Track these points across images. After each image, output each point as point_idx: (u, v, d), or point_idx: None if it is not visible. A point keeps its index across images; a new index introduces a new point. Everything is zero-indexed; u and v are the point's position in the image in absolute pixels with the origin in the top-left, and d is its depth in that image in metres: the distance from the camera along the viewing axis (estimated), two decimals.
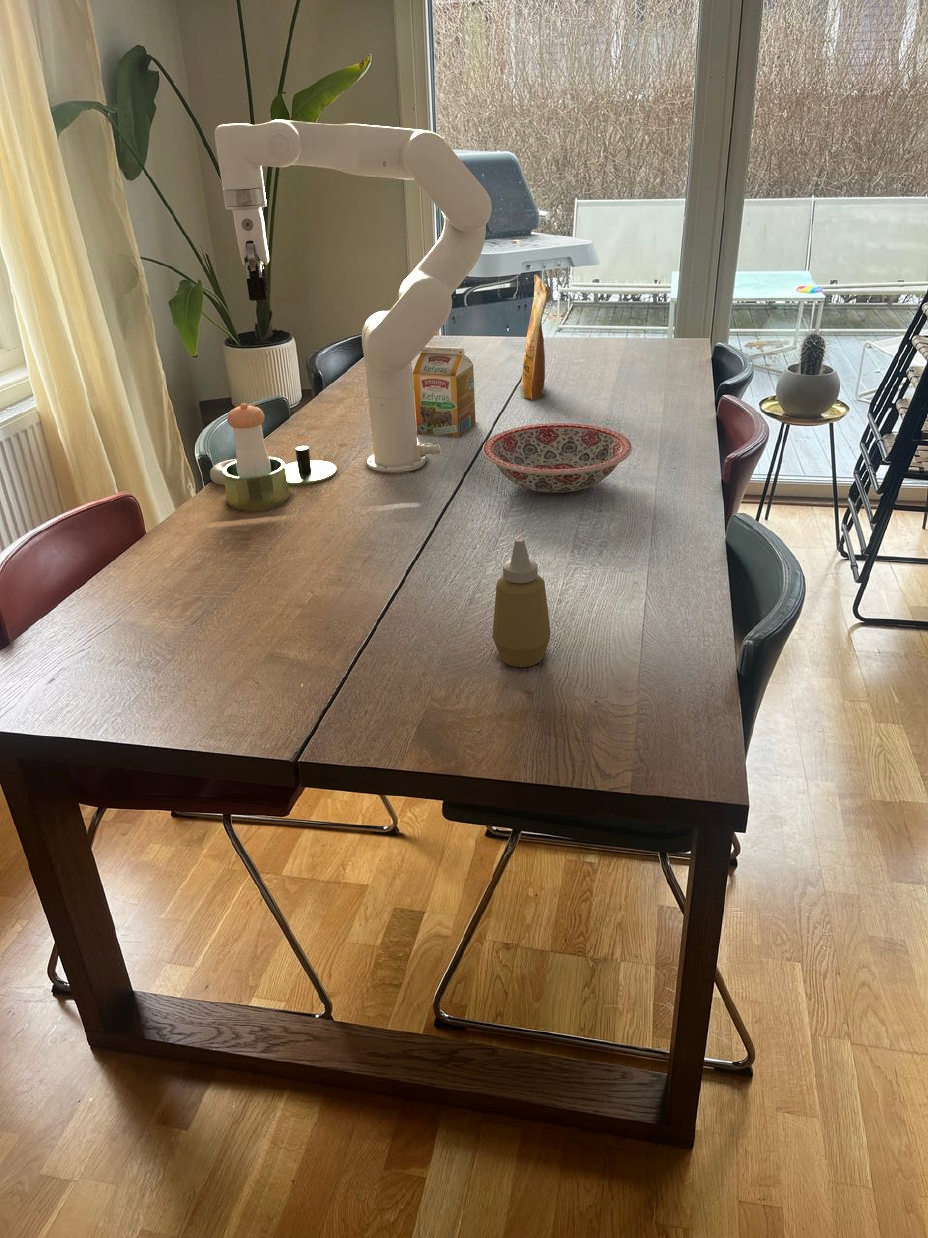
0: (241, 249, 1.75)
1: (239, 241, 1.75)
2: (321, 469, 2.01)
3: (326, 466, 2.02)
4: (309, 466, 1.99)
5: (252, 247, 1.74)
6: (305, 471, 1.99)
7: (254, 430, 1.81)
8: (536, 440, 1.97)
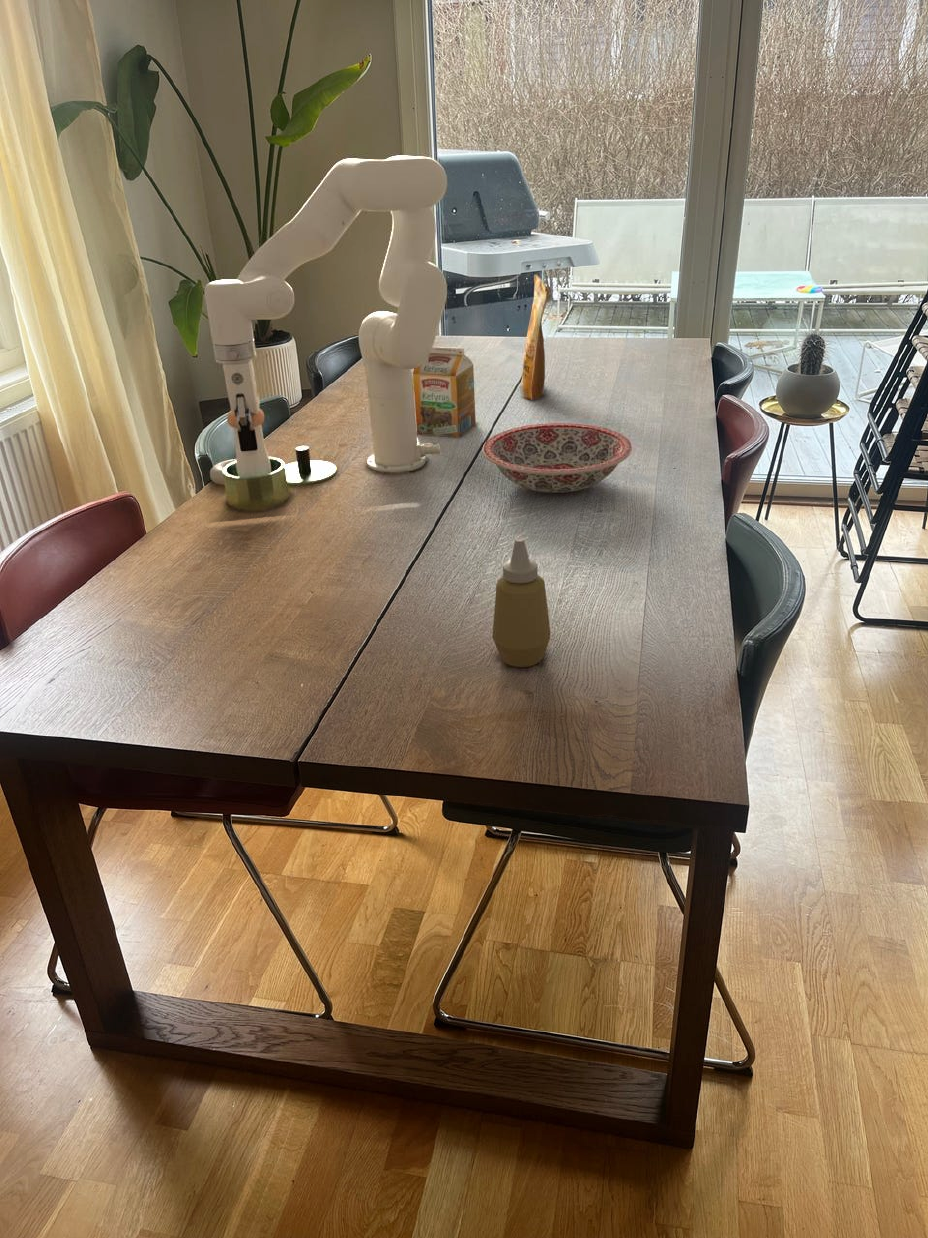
0: (231, 402, 1.75)
1: (229, 394, 1.75)
2: (321, 469, 2.01)
3: (326, 466, 2.02)
4: (309, 466, 1.99)
5: (243, 404, 1.75)
6: (305, 471, 1.99)
7: None
8: (536, 440, 1.97)
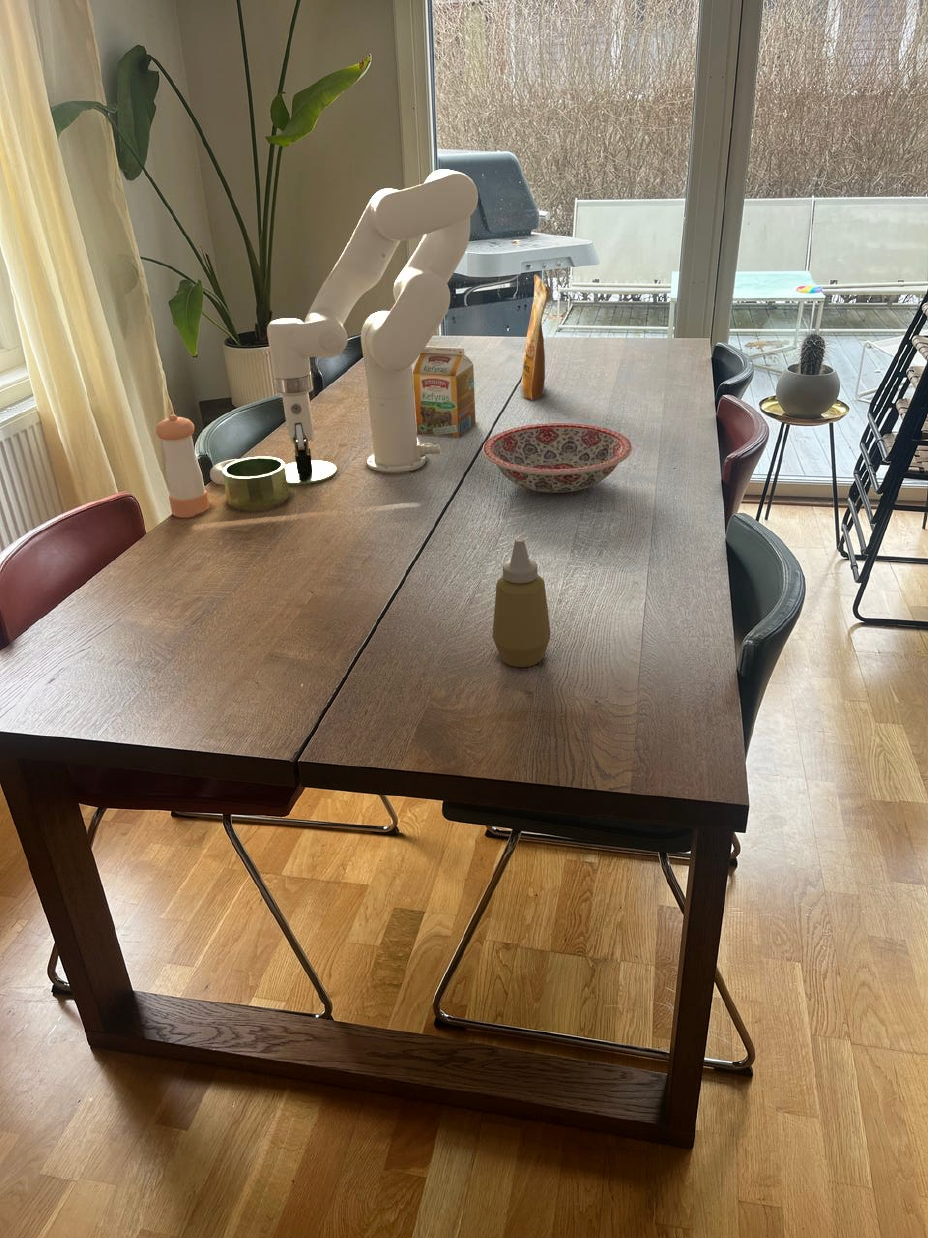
0: (290, 430, 1.91)
1: (288, 423, 1.90)
2: (321, 469, 2.01)
3: (326, 466, 2.02)
4: None
5: (301, 435, 1.91)
6: None
7: (184, 442, 1.78)
8: (536, 440, 1.97)
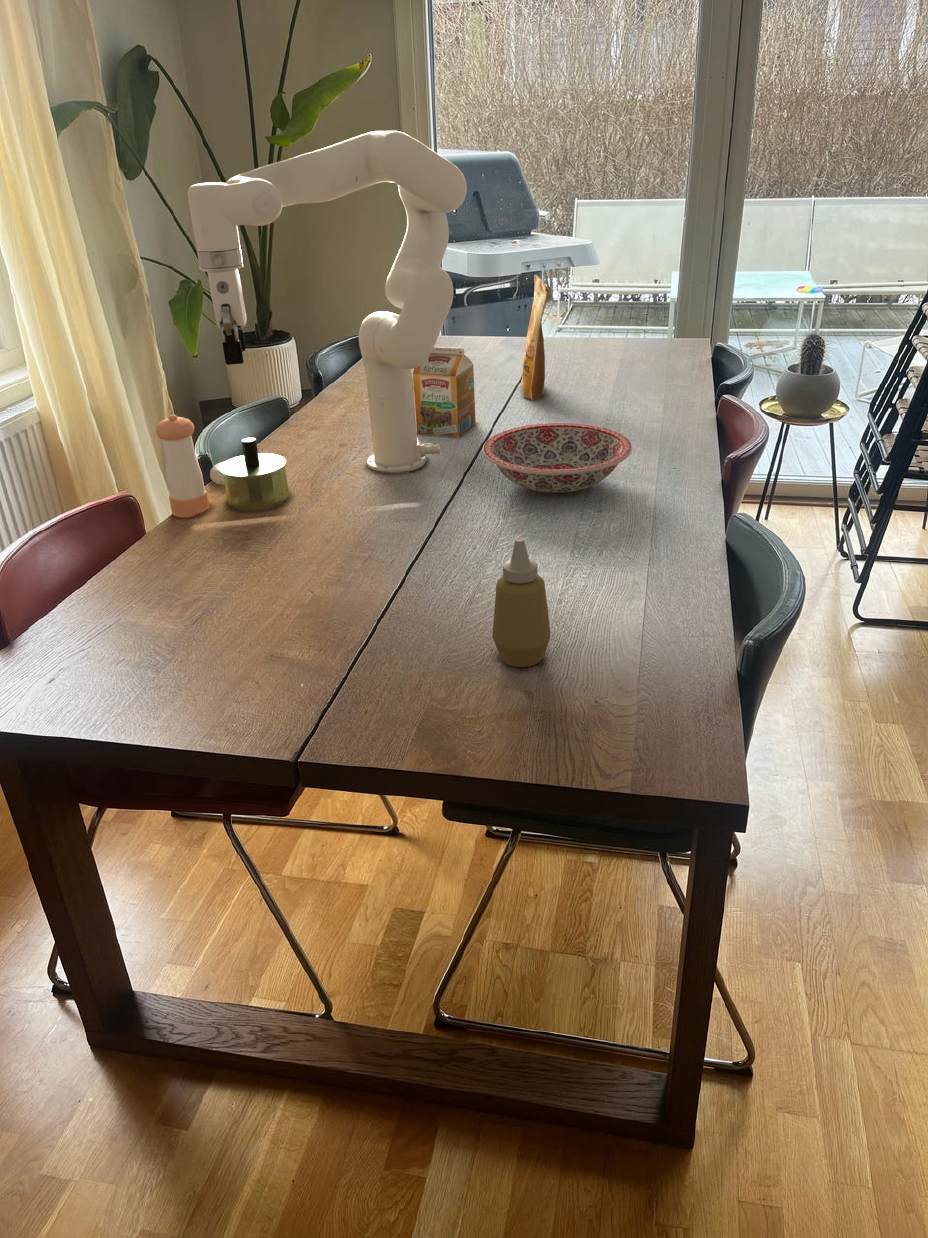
0: (216, 312, 1.67)
1: (214, 304, 1.67)
2: (270, 462, 1.87)
3: (275, 460, 1.88)
4: (257, 459, 1.85)
5: (228, 311, 1.66)
6: (252, 464, 1.85)
7: (184, 442, 1.78)
8: (536, 440, 1.97)
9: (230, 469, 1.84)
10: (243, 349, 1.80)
